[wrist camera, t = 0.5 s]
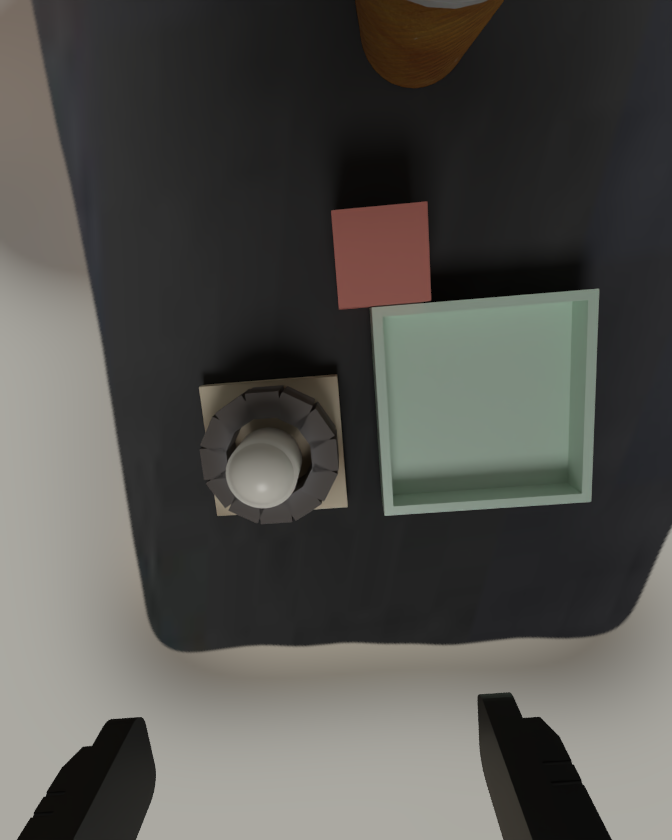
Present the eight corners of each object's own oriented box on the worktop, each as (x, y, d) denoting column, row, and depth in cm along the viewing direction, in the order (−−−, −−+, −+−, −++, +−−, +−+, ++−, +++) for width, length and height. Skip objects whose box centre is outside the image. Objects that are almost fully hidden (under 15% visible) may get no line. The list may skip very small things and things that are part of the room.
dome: (233, 429, 29) (215, 448, 25) (298, 424, 29) (291, 443, 25) (241, 491, 30) (225, 519, 26) (305, 487, 30) (298, 514, 26)
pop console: (203, 384, 32) (186, 393, 28) (337, 374, 31) (336, 381, 28) (221, 510, 34) (207, 532, 30) (347, 501, 33) (347, 522, 30)
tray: (369, 308, 30) (371, 307, 28) (577, 290, 30) (599, 288, 27) (381, 500, 33) (384, 515, 31) (572, 487, 33) (591, 501, 30)
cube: (333, 227, 30) (331, 210, 25) (413, 220, 29) (427, 201, 25) (340, 309, 31) (338, 308, 26) (417, 303, 30) (431, 300, 26)
